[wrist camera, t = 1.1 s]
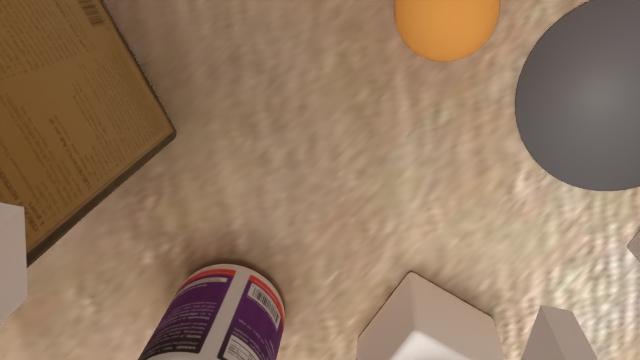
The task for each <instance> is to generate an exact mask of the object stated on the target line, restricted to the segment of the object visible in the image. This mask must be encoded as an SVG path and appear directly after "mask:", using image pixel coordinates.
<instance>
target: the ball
mask: <svg viewBox="0 0 640 360" xmlns="http://www.w3.org/2000/svg"><path fill="white" fill-rule="evenodd" d="M499 11H500V0H395V6H394V15H395V22H396V26H397V29H398V32H399V34H400V36H401V38H402V39H403V41H404V42H405V43H406V44H407V46H408V47H409V48H410V49H411V50H413V51H414V52H415V53H417V54H418V55H420V56H422V57H424V58H427V59H430V60H434V61H454V60H458V59H461V58H464V57H466V56H468V55H470V54H472V53H474V52H475V51H476V50H478V49H479V48H480V47H481V46H482V45H483V44H484V43H485V42H486V41H487V40H488V39H489V37H490V36H491V34H492V32H493V30H494V28H495V26H496V23H497V21H498V17H499Z"/></svg>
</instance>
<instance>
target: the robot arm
mask: <svg viewBox="0 0 640 360" xmlns="http://www.w3.org/2000/svg"><path fill="white" fill-rule="evenodd" d="M27 299H28V287H27V263H26V239H25V215H24V207H21V206H16V205H10V204H5V203H0V325H1V324H2V323H3V322H4V321H5V320H6V319H7V318H8V317H9V316H10V315H11V314H12V313H13V312H14V311H15V310H16V309H17V308H18V307H20V306H21V305H22V304H23V303H24V302H25V301H26V300H27ZM521 360H598V359H597V357H596V355H595V353H594V351H593V349H592V348H591V346H590V344H589V342H588V340H587V338H586V336H585V335H584V333H583V331H582V329H581V327H580V325H579V323H578V321H577V320H576V318H575V316H574V314H573V312H572V311H569V310H564V309H558V308H553V307H548V306H542V305H541V306H540V308H539V311H538V314H537V317H536V320H535V322H534V325H533V328H532V331H531V334H530V336H529V339H528V342H527V345H526V348H525V350H524V353H523V356H522V359H521Z"/></svg>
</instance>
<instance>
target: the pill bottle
mask: <svg viewBox="0 0 640 360" xmlns="http://www.w3.org/2000/svg"><path fill="white" fill-rule="evenodd" d="M284 321H285V313H284V306H283V303H282V300H281V298H280V296H279V294H278V292H277V291H276V289H275V288H274V286H273V285H272V284H271V283H270V282H269V281H268V280H267V279H266V278H264V277H263V276H262V275H260V274H259V273H257V272H255V271H253V270H251V269H249V268H246V267H243V266H239V265H234V264H217V265H211V266H208V267H205V268H202V269H200V270H198V271H197V272H195V273H194V274H192V275H191V276H190V277H189V278H187V279H186V281H185V282H184V283H183V284H182V286H181V287H180V289H179V290H178V292H177V294H176V295H175V297H174V299H173V301H172V302H171V304H170V306H169V307H168V309H167V311H166V313H165V314H164V316H163V318H162V319H161V321H160V323H159V325H158V326H157V328H156V330H155V331H154V333H153V335H152V337H151V338H150V340H149V342H148V344H147V345H146V347H145V349H144V350H143V352H142V354H141V355H140V357H139V359H138V360H276V357H277V353H278V349H279V345H280V341H281V337H282V333H283V328H284Z"/></svg>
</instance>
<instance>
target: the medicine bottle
mask: <svg viewBox="0 0 640 360" xmlns="http://www.w3.org/2000/svg"><path fill="white" fill-rule="evenodd" d="M356 360H506V358H505V355H504V352H503V349H502V345H501V342H500V339H499V336H498V333H497V330H496V326H495V323H494V320H493V319H492V318H491V317H490V316H488V315H486V314H485V313H483V312H481V311H479V310H478V309H476V308H474V307H473V306H471V305H469V304H467V303H466V302H464V301H462V300H460V299H459V298H457V297H455V296H453V295H452V294H450V293H448V292H446V291H445V290H443V289H441V288H439V287H438V286H436V285H434V284H433V283H431V282H429V281H427V280H426V279H424V278H422V277H420V276H419V275H417V274H415V273H413V272H410V273H408V274H407V275H406V277H405V278H404V279H403V281H402V282H401V283H400V285H399V286H398V287H397V288H396V290H395V291H394V292H393V294H392V295H391V296H390V298H389V299H388V300H387V301H386V303H385V304H384V305H383V307H382V308H381V309H380V311H379V312H378V313H377V315H376V316H375V317H374V318H373V320H372V321H371V322H370V324H369V325H368V326H367V328H366V329H365V330H364V331H363V333H362V334H361V335H360V337H359V338H358V340H357V355H356Z"/></svg>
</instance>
